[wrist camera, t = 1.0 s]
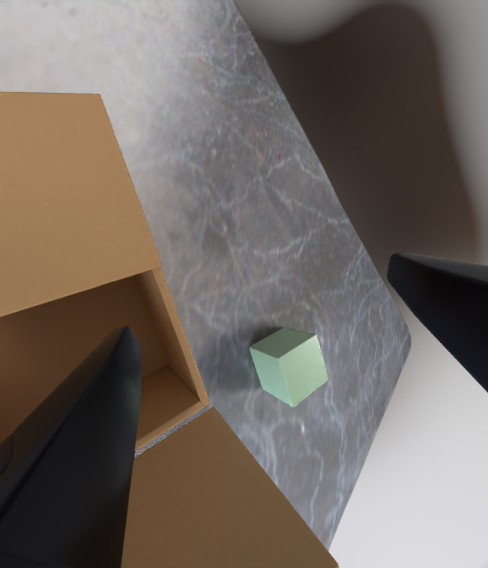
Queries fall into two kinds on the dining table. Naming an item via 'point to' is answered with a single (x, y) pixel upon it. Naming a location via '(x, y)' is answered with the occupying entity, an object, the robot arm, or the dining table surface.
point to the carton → (79, 263)
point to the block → (289, 364)
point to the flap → (212, 507)
